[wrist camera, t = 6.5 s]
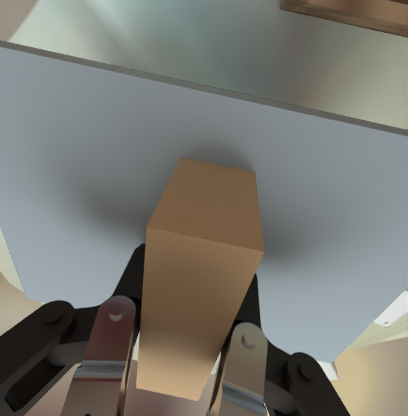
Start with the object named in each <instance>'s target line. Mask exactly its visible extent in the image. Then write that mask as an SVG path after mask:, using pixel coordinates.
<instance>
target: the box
mask: <svg viewBox="0 0 408 416" xmlns="http://www.w3.org/2000/svg"><path fill="white" fill-rule="evenodd" d="M280 9H282V10H286V11H291V12H295V13H300V14H304V15H309V16H313V17H318V18H322V19H327V20H331V21H336V22H340V23H345V24H349V25H354V26H358V27H363V28H367V29H372V30H376V31H381V32H385V33H390V34H394V35H399V36H403V37H408V0H282V3H281V6H280Z"/></svg>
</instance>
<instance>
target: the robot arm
mask: <svg viewBox="0 0 408 416" xmlns="http://www.w3.org/2000/svg"><path fill="white" fill-rule="evenodd" d="M145 246H146V244H144V243H142V244H141V245H140V246H138V247H137V248H136V249H135V250H134V252H133V254H132V256H131V258H130V260H129V262H128V264H127V267H126V268H125V270H124V272H123V274H122V276H121V278H120V280H119V282H118V284H117V286H116V288H115V290H114V292H113V294H112V296H111V297H110V298H108V299H107V300H105V301H104V302H103V303H102V304H100V305H97V306H93V307H85V308H75V309H74V307H73V306H72V304H71V303H69V302H67V301H63V300H56V301H51V302H49V303H46V304H44V305H43V306H41V307H40V308H38V309H37V310H36V311H34V312H33V313H32V314H30V315H29V316H27V317H26V318H25V319H23V320H22V321H21V322H19V323H18V324H17V325H15V326H14V327H12V328H11V329H10V330H8V331H7V332H5V333H4V334H3V335H1V336H0V416H24V415H25V414H26V413H27V412H28V411H29V410H30V409H31V408H32V407H33V406H34V405H35V404H36V403H37V402H38V401H39V400H40V399H41V398H42V397H43V396H44V395H45V394H46V393H47V392H48V390H50V389H51V388H52V387H53V386H54V385H55V384H56V383H57V382H58V381H59V380H60V379H61V378H62V377H63V375H64V374H66V373H67V371H69V369H71V367H73V366H74V365H75V364H77V363H81V366H79V367H78V368H77V369H76V371H75V373H74V375H73V378H72V381H71V384H70V387H69V390H68V394H67V397H66V400H65V403H64V406H63V409H62V412H61V415H60V416H124V409H125V399H126V393H127V387H128V381H129V374H130V368H131V362H132V356H133V350H134V345H135V343H136V340H137V337H138V334H139V331H140V323H141V307H142V292H143V277H144V261H145ZM258 294H259V292H258V278H257V275H256V273H255V275H254V277H253V279H252V281H251V284H250V286H249V288H248V290H247V293H246V295H245V297H244V299H243V302H242V304H241V306H240V308H239V311H238V313H237V315H236V317H235V319H234V322H233V324H232V326H231V328H230V331H229V333H228V335H227V337H226V340H225V342H224V344H223V346H222V349H221V357H220V361H219V363H218V367H217V371H216V375H215V379H214V384H213V388H212V392H211V396H210V401H209V405H208V409H207V413H206V416H267V410H268V412H269V415H270V416H350V414H349V412H348V411H347V409H346V407H345V406H344V404H343V402H342V401H341V399H340V397H339V396H338V394H337V392H336V391H335V389H334V387H333V386H332V384H331V382H330V381H329V379H328V377H327V376H326V374H325V372H324V371H323V369H322V367H321V366H320V364H319V363H318V362H317V361H316V360H315V359H314V358H313V357H312V356H310V355H308V354H306V353H303V352H295V353H293V354H292V355H290V354H288V353H286V352H285V351H283V350H281V349H279V348H278V347H276V346H274V345H273V344H272V343H271V342H270V341H269V340H268V339H267V338H266V336H265V334H264V333H263V331H262V328H261V319H260V305H259V295H258ZM263 402H264V403H265V405H266V407H267V410H266V407H265V406H264V403H263Z"/></svg>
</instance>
